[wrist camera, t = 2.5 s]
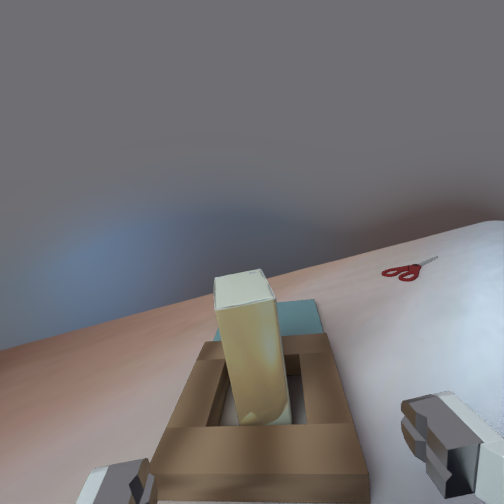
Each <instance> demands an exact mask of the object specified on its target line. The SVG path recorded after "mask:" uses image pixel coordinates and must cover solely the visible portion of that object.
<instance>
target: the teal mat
mask: <svg viewBox="0 0 504 504" xmlns="http://www.w3.org/2000/svg"><path fill="white" fill-rule="evenodd" d="M277 309H278V317H279V324H280V332H281V336H290V335H304V334H317V333H323V329H322V326H321V322H320V319H319V315H318V312H317V308H316V305H315V301H314V299H310V300H300V301H289V302H278V303H277ZM213 341H221V336H220V332H219V328H218V330H217V333H216V335H215V338H214V340H213Z"/></svg>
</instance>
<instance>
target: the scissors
mask: <svg viewBox="0 0 504 504" xmlns="http://www.w3.org/2000/svg"><path fill="white" fill-rule="evenodd" d="M436 258H438V256H436V257H433V258H431V259H429V260H426V261H424V262H422V263H419V264H413V265H408V266H403V267H397V268H392V269H388V270H385V271H383V272H382V275H383V276H387V277H392V276H396V275H398V274H399V273H401V272H404V271H408V272H406V273H403V274H401V275H400V276H399V280H402V281H413V280H415V279H416V278H417V277H418V275H419V270H420V268H421V267H422V266H423V265H425V264H427V263H429V262H431V261H433V260H435V259H436ZM390 271H397V272H395V273H393V274H386V273H387V272H390ZM410 274H414V276H413V277H411V278H403V277H405V276H407V275H410Z"/></svg>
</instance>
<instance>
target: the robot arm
mask: <svg viewBox="0 0 504 504" xmlns="http://www.w3.org/2000/svg"><path fill="white" fill-rule="evenodd" d="M401 411H402V412H403V413H404V415H405V416H404V418H403V419H402V421H401V429H402V432H403V435H404V438H405V441H406V443H407V444H408V446H409V448H410V450H411V451H412V452H413V454H414V455H415V457H417V458H418V459H420V460H422V461H423V462H425V463H426V473H427V474H428V476H429V477H430V478H431V480H432V481H433V483H434V484H435V486H436V487H437V488H438V490H439V491H440V493H441V494H442V496H443V497H444V498H445V499H447V498H452V497H457V496H462V495H467V494H472V493H475V495H476V496H477V497H478V498H480V499H481V500H482V501H484V502H485V503H486V504H504V438H502V437H501V436H500V435H499V434H498V433H497V432H496V431H495V430H494V429H492V428H491V427H490V426H489V425H488V424H487V423H486V422H485V421H484V420H483V419H481V418H480V417H479V416H478V415H477V414H476V413H475V412H474V411H473V410H471V409H470V408H469V407H468V406H467V405H466V404H465V403H464V402H463V401H462V400H460V399H459V398H458V397H457V396H456V395H455V394H454V393H452V392H450V391H445V392H440V393H436V394H429V395H425V396H421V397H417V398H413V399H408V400H404V401H403V402H402V403H401ZM150 467H151V465H150V463H149V461H148V458H145V459H140V460H134V461H129V462H124V463H118V464H113V465H108V466H103V467H99V468H95V469H94V470H93V471H92V472H91V473H90V475H89V476H88V478H87V480H86V483H85V485H84V487H83V489H82V491H81V493H80V495H79V497H78V499H77V501H76V503H75V504H157V496H158V489H157V482H156V479H155V476H153V475H151V474H150V473H149V470H150Z"/></svg>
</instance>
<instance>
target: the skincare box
mask: <svg viewBox="0 0 504 504" xmlns="http://www.w3.org/2000/svg"><path fill="white" fill-rule="evenodd" d="M214 306H215V313H216V318H217V322H218V327H219V332H220V336H221V341H222V345H223V350H224V355H225V360H226V364H227V369H228V373H229V378H230V383H231V387H232V392H233V397H234V401H235V406H236V410H237V416H238V421H239V426H256V425H293V420H292V413H291V406H290V398H289V391H288V384H287V376H286V369H285V361H284V354H283V347H282V339H281V332H280V324H279V317H278V309H277V302H276V297H275V295H274V293H273V291H272V289H271V287H270V285H269V283H268V281H267V279H266V278H265V276H264V274H263V272H262V270H261V269H257V270H252V271H247V272H242V273H237V274H231V275H226V276H221V277H216V278H215V281H214Z"/></svg>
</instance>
